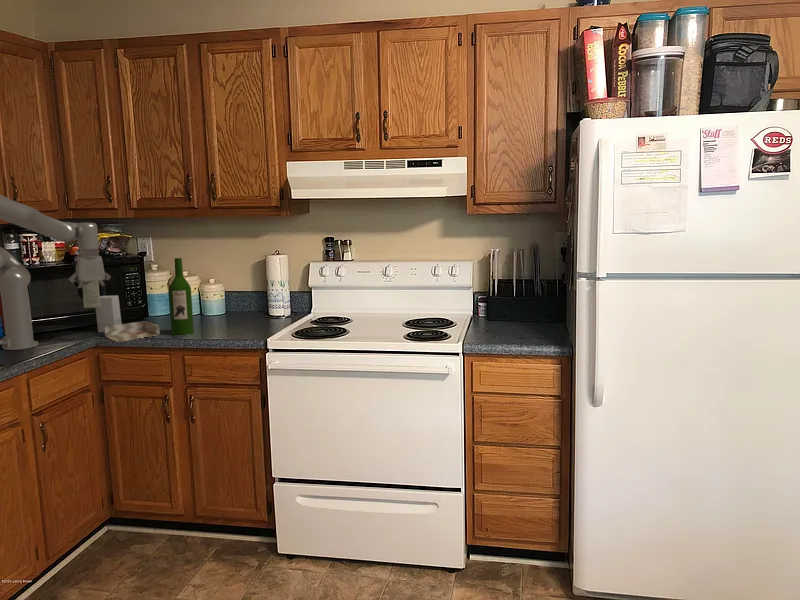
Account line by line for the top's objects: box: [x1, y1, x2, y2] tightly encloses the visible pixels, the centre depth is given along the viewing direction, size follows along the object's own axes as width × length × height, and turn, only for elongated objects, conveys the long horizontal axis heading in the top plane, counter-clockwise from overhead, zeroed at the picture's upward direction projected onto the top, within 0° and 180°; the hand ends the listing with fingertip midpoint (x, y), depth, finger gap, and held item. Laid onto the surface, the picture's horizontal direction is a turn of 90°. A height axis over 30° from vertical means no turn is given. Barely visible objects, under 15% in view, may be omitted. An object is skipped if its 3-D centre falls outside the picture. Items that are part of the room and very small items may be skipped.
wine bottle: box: [168, 257, 195, 336], centre depth 291 cm, size 9×9×32 cm
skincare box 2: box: [94, 294, 123, 333], centre depth 300 cm, size 8×7×16 cm
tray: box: [104, 320, 161, 343], centre depth 289 cm, size 18×14×4 cm
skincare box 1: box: [82, 278, 100, 309], centre depth 278 cm, size 6×4×12 cm
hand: (91, 296), depth 278 cm, fingers closed on skincare box 1, 7 cm apart
